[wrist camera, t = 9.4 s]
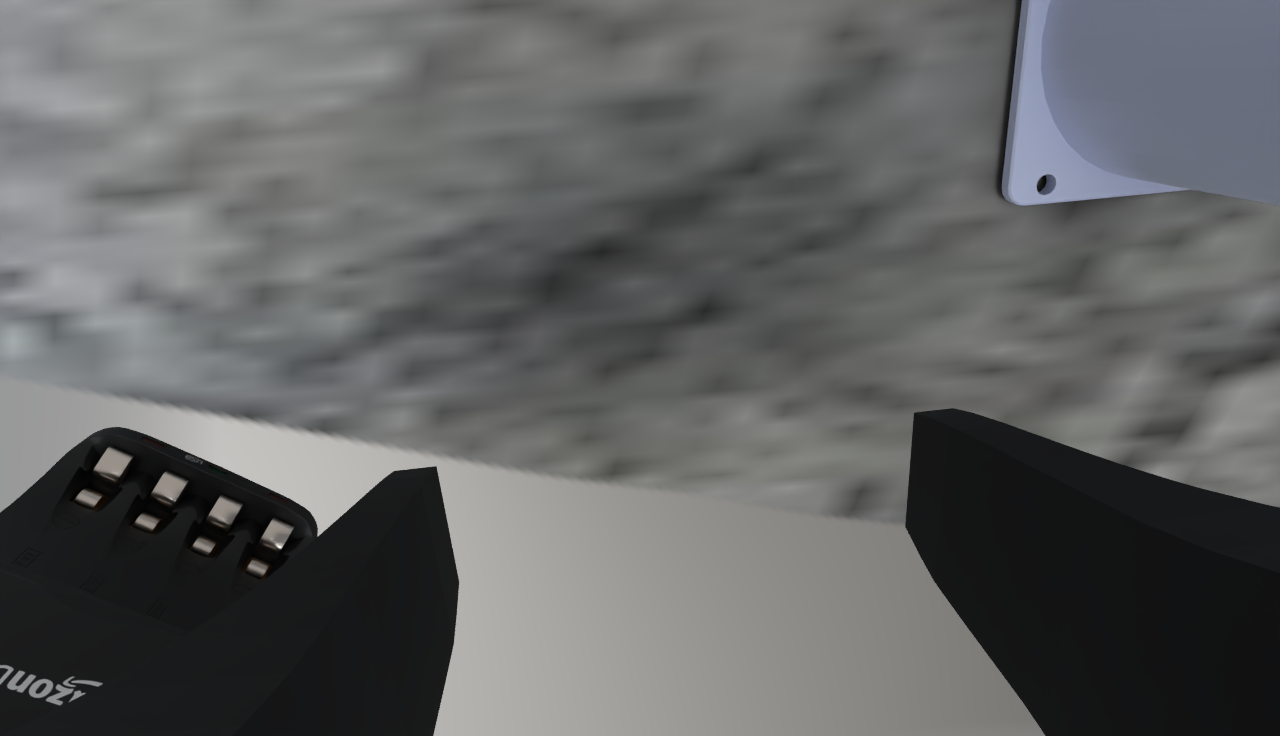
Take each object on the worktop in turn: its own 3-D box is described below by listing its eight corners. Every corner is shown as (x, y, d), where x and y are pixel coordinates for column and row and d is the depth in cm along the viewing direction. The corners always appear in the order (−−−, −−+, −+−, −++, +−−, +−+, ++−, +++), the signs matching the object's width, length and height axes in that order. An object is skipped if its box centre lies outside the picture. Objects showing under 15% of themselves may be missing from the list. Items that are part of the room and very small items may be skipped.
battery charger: (357, 497, 21) (160, 924, 11) (299, 594, 22) (64, 1074, 11) (101, 379, 19) (-459, 761, 9) (49, 491, 20) (-512, 959, 9)
